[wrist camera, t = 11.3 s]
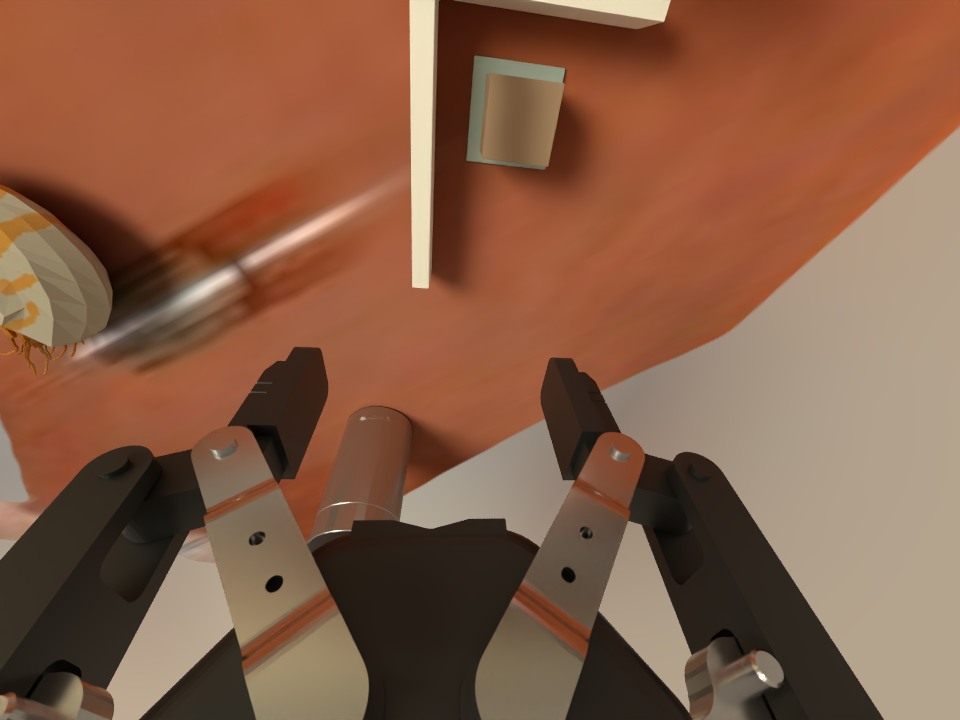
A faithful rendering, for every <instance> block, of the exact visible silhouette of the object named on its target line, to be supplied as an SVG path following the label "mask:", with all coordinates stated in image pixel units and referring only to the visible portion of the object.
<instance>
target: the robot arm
mask: <svg viewBox="0 0 960 720" xmlns="http://www.w3.org/2000/svg"><path fill="white" fill-rule="evenodd" d="M327 396H328V380H327V375H326V370H325V366H324V361H323V356H322V352H321V349H320V348H312V347H295V348H293V350H292V351H291V353H290V355H289V356H288V358H287V360H286V361H277V362H276V363H274V364H273V365H272V366H270V367H269V368H267V369H266V370H265V371H264V372H263V374H262V375H261V377H260V378H259V380H258V381H257V384H255V386H254V387H253V389H252V390H251V393H249V395H248V396H247V398H246V399H245V401H244V402H243V404H242V405H241V407H240V408H239V410H238V411H237V413H236V414H235V416H234V417H233V419H232V420H231V422H230V423H229V425H228V426H227V427H224V428H221V429H217V430H215V431H213V432H211V433H209V434H207V435H206V436H204V437H203V438H202V439H200V440H199V441H198V442H197V443H196V444H195V446H194V447H193V449H190V450H187V451H182V452H177V453H173V454H168V455H164V456H159V457H154V455H153V454H152V452H151V451H150V450H149V449H148V448H146V447H143V446H126V447H121V448H117V449H114V450H111V451H109V452H107V453H104V454H102V455H100V456H99V457H97V458H95V459H94V460H92V461H91V462H89V463H88V464H87V465H86V466H85V467H84V468H83V469H82V470H81V471H80V472H79V473H78V474H77V475H76V476H75V477H74V479H73V480H72V481H71V482H70V483H69V484H68V485H67V486H66V487H65V489H64V490H63V491H62V492H61V493H60V494H59V495H58V496H57V497H56V499H55V500H54V501H53V502H52V503H51V504H50V505H49V506H48V508H47V509H46V510H45V511H44V512H43V513H42V514H41V515H40V516H39V518H38V519H37V520H36V521H35V522H34V523H33V524H32V525H31V526H30V528H29V529H28V530H27V531H26V532H25V533H24V534H23V535H22V536H21V538H20V539H19V540H18V541H17V542H16V543H15V544H14V545H13V547H12V548H11V549H10V550H9V551H8V552H7V553H6V555H4V557H3V558H2V559H1V560H0V720H112V717H113V713H114V703H113V698H112V696H111V694H110V693H109V692H108V691H106V689H107V687H108V685H109V683H110V681H111V679H112V677H113V676H114V674H115V672H116V670H117V668H118V666H119V664H120V662H121V660H122V659H123V657H124V655H125V653H126V651H127V649H128V647H129V645H130V643H131V642H132V640H133V638H134V636H135V634H136V632H137V630H138V628H139V626H140V624H141V623H142V621H143V619H144V617H145V615H146V613H147V611H148V609H149V607H150V605H151V604H152V602H153V600H154V598H155V596H156V594H157V592H158V590H159V588H160V587H161V585H162V583H163V581H164V579H165V577H166V575H167V573H168V571H169V569H170V567H171V566H172V564H173V562H174V560H175V558H176V556H177V554H178V552H179V550H180V549H181V547H182V545H183V543H184V541H185V539H186V537H187V535H188V533H189V532H190V530H194V529H197V528H201V527H204V526H206V529H207V533H208V536H209V540H210V543H211V547H212V550H213V554H214V557H215V561H216V564H217V568H218V571H219V575H220V579H221V582H222V586H223V589H224V593H225V596H226V600H227V602H228V606H229V610H230V614H231V617H232V621H233V624H234V628H233V629H231V630H230V632H228V634H226V635H225V636H224V637H223V638H222V639H221V640H220V641H219V642H218V643H217V644H216V645H215V646H214V647H213V648H212V649H211V650H210V651H209V652H208V653H207V654H206V655H205V656H204V657H203V658H202V659H201V660H200V661H199V662H198V663H197V664H196V665H195V666H194V667H193V668H191V669H190V670H189V672H187V673H186V674H185V675H184V676H183V677H182V678H181V679H180V680H179V681H178V682H177V683H176V684H175V685H174V686H173V687H172V688H171V689H170V690H169V691H168V692H167V693H166V694H165V695H164V696H163V697H162V698H161V699H160V700H159V701H158V702H157V703H156V704H155V705H154V706H152V707H151V708H150V709H149V710H148V711H147V713H145V714H144V715H143V716H142V717H141V718H140V719H139V720H884V719H883V718H882V716H881V714H880V713H879V711H878V710H877V708H876V707H875V706H874V704H873V702H872V701H871V699H870V698H869V696H868V694H867V693H866V691H865V690H864V688H863V687H862V685H861V684H860V682H859V681H858V679H857V678H856V676H855V675H854V673H853V671H852V670H851V668H850V667H849V665H848V664H847V662H846V661H845V659H844V658H843V656H842V655H841V653H840V652H839V650H838V648H837V647H836V645H835V644H834V642H833V641H832V639H831V638H830V636H829V635H828V633H827V632H826V630H825V629H824V627H823V625H822V624H821V622H820V621H819V619H818V618H817V616H816V615H815V613H814V612H813V610H812V609H811V608H810V606H809V604H808V602H807V601H806V599H805V598H804V597H803V595H802V593H801V592H800V590H799V589H798V587H797V586H796V584H795V583H794V581H793V580H792V578H791V576H790V575H789V573H788V572H787V570H786V569H785V567H784V566H783V564H782V563H781V561H780V560H779V558H778V557H777V555H776V554H775V552H774V550H773V549H772V547H771V546H770V544H769V543H768V541H767V540H766V538H765V537H764V535H763V534H762V532H761V530H760V529H759V527H758V526H757V524H756V523H755V521H754V520H753V518H752V517H751V515H750V514H749V512H748V511H747V509H746V507H745V506H744V504H743V503H742V501H741V500H740V498H739V497H738V495H737V494H736V492H735V491H734V489H733V488H732V486H731V485H730V483H729V481H728V480H727V478H726V477H725V475H724V474H723V472H722V471H721V470H720V469H719V467H718V466H717V465H715V464H714V463H713V462H712V461H710V460H709V459H707V458H705V457H703V456H701V455H699V454H696V453H691V452H683V453H680V454H678V455H676V457H675V458H674V460H673V461H669V460H665V459H662V458H658V457H655V456H650V455H648V454H645V453H644V451H643V449H642V448H641V447H640V445H639V444H638V443H637V442H636V441H635V440H633V439H632V438H630V437H628V436H626V435H624V434H621V432H620V430H619V428H618V426H617V424H616V422H615V420H614V418H613V416H612V414H611V412H610V410H609V408H608V406H607V404H606V403H605V400H604V398H603V396H602V395H601V392H600V390H599V388H598V386H597V384H596V382H595V381H594V380H593V379H592V378H591V377H590V376H589V375H588V374H586V373H585V372H578V369H577V367H576V365H575V363H574V361H573V359H571V358H550V360H549V362H548V366H547V370H546V374H545V378H544V381H543V385H542V389H541V406H542V409H543V413H544V416H545V420H546V423H547V427H548V430H549V433H550V437H551V440H552V444H553V447H554V451H555V454H556V457H557V461H558V464H559V468H560V471H561V475H562V478H563V480H575V482H574V484H573V485H572V487H571V489H570V491H569V493H568V495H567V497H566V499H565V501H564V503H563V504H562V506H561V508H560V510H559V512H558V514H557V516H556V518H555V520H554V522H553V524H552V526H551V527H550V529H549V531H548V533H547V535H546V537H545V539H544V541H543V543H542V545H541V547H539V546H538V545H536V544H535V543H533V542H532V541H530V540H529V539H527V538H525V537H523V536H522V535H519V534H517V533H514V532H511V531H508V530H507V529H506V521H505V519H467V520H464V521H460V522H456V523H452V524H449V525H445V526H441V527H438V528H434V529H427V528H423V527H419V526H415V525H410V524H407V523H402V522H400V514H401V508H402V501H403V494H404V487H405V480H406V473H407V466H408V459H409V453H410V446H411V439H412V426H411V423H410V422H409V420H408V419H407V418H406V417H405V416H404V415H402V414H401V413H399V412H397V411H395V410H393V409H389V408H385V407H368V408H363V409H361V410H358V411H357V412H355V413H354V414H353V415H352V416H351V417H350V418H349V420H348V423H347V426H346V429H345V432H344V435H343V438H342V441H341V443H340V446H339V450H338V453H337V456H336V459H335V462H334V465H333V468H332V471H331V474H330V477H329V480H328V483H327V486H326V489H325V492H324V495H323V498H322V501H321V504H320V507H319V510H318V513H317V516H316V520H315V523H314V526H313V529H312V532H311V535H310V538H309V541H308V544H306V542H305V540H304V537H303V535H302V533H301V531H300V529H299V527H298V525H297V523H296V521H295V519H294V517H293V514H292V512H291V510H290V508H289V506H288V504H287V502H286V500H285V498H284V496H283V494H282V491H281V489H280V487H279V482H280V480H281V479H295V477H296V474H297V472H298V470H299V467H300V465H301V462H302V460H303V457H304V455H305V452H306V450H307V447H308V445H309V442H310V440H311V437H312V435H313V432H314V430H315V427H316V425H317V422H318V420H319V417H320V415H321V412H322V410H323V407H324V405H325V402H326V400H327ZM628 521H631V522H634V523H638V524H641V525H642V527H643V529H644V532H645V534H646V537H647V540H648V542H649V545H650V547H651V550H652V552H653V555H654V558H655V560H656V563H657V566H658V568H659V571H660V573H661V576H662V578H663V581H664V584H665V586H666V589H667V592H668V594H669V597H670V599H671V602H672V605H673V607H674V610H675V612H676V615H677V617H678V620H679V623H680V625H681V628H682V631H683V633H684V636H685V638H686V641H687V644H688V646H689V649H690V651H691V654H692V656H691V657H690V658H689V659H688V661H687V663H686V666H685V682H686V686H687V690H688V697H689V701H690V713H689V712H688V711H687V710H686V708H685V707H684V706H683V704H682V703H681V702H680V700H679V699H678V698H677V697H676V696H675V695H674V694H673V692H672V691H671V690H670V689H669V688H668V687H667V686H666V685H665V684H664V682H662V680H661V679H660V678H659V677H658V676H657V675H656V674H655V673H654V671H653V670H652V669H651V668H650V667H649V666H648V665H647V664H646V663H645V662H644V660H643V659H642V658H641V657H640V656H639V655H638V654H637V653H636V652H635V651H634V649H633V648H632V647H631V646H630V645H629V644H628V643H627V642H626V641H625V640H624V638H623V637H622V636H621V635H620V634H619V633H618V632H617V631H616V630H615V628H614V627H613V626H612V625H611V624H610V623H609V622H608V621H607V620H606V619H605V617H604V616H603V615H602V614H601V613H600V612H599V611H598V610H599V607H600V604H601V601H602V598H603V595H604V591H605V589H606V586H607V583H608V580H609V577H610V573H611V571H612V568H613V565H614V561H615V558H616V555H617V552H618V550H619V547H620V543H621V540H622V538H623V534H624V531H625V528H626V526H627V523H628Z"/></svg>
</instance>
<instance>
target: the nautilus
mask: <svg viewBox="0 0 960 720" xmlns="http://www.w3.org/2000/svg"><path fill="white" fill-rule="evenodd" d="M112 296H113V290H112V287H111V284H110V281H109V278H108V274H107V271H106V269H105V267H104V266H103V265H102V263H101V262H100V261H99V259H98V258H97V257H96V256H95V254H94V253H93V252H92V250H91V249H90V248H89V247H88V246H87V245H86V244H85V243H84V242H82V241H81V240H80V239H79V238H78V237H77V236H76V235H75V234H74V233H73V232H71V231H70V230H69V229H68V228H67V227H66V226H65V225H64V224H63V223H61V222H60V221H59V220H58V219H57V218H56V217H55V216H54V215H53V214H52V213H50V212H49V211H47V210H45V209H44V208H42V207H41V206H39V205H37V204H36V203H34V202H33V201H31V200H29V199H27V198H26V197H24V196H22V195H21V194H19V193H17V192H16V191H14V190H12V189H10V188H8V187H6V186H3V185H1V184H0V329H1V330H2V331H3V332H4V333H5V335H6V336H7V337H8V338H9V340H10V342H11V344H12V345H13V346H14V348H15V350H13V351H11V352H9V353H1V354H2V355H10V354H12V353H14V352H17V351H18V346H17V345H16V343H15V341H14V338H15V337H17V335H18V336H19V337H20V341H21V345H20V351H19V354H17V355H20V354H21V353H22V352H23V346H24V353H23V357H24V358H25V359H26V360H27V363H28V368H29V367H30V366H29V364H30V365H31V366H32V369H33V372H34V376H36V371H35V367H34V364H32V363H31V362H30V360H29V351H30V348H31V346H33V347H35V348H36V347H39V350H40V351H41V352H42V353H43V354H45V357H46V360H45V370H44V373H43V374H46V372H47V370H48V361H49V357H50V360H56V359H58V358H60V357H61V356H62V355H63V354H64V353H65V351H66V349H67V345H66V344H72V343H74V344H73V353H72V355H71V356H70V357H68V358H71V357H72V356H73V355H74V354H75V351H76V344H77V342H80V341H81V342H82V343H83V344H84V342H83V340H84V339H87V338H89V337H91V336H93V335H94V334H96V333H98V332H99V331H101V330H102V329H104V328H105V327H106V325H107V322H108V319H109V316H110V313H111V310H112ZM16 334H17V335H16ZM26 345H27V347H26ZM43 345H45V350H46V352H47V353H48V354H47V353H46V352H45V351H44V349H43V348H42V346H43ZM61 345H63V346H64V349H63V351H62V352H61V354H60V355H59V356H58V357H57V358H55V359H51V356H50V354H51V353H52V352H53V351H54V349H55V347H56V346H61ZM47 346H50V347H52V349H51V351H50V352H48V351H47ZM48 355H49V357H48Z"/></svg>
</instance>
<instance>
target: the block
mask: <svg viewBox="0 0 960 720" xmlns="http://www.w3.org/2000/svg"><path fill="white" fill-rule="evenodd" d="M564 85H565V83H558V82H551V81H544V80H537V79H530V78H523V77H516V76H509V75H501V74H494V73H488V74H487V76H486V87H485V98H484V108H483V119H482V129H481V140H480V152H481V156H482V159H487V160H495V161H504V162H512V163H521V164H529V165H538V166H546V167H548V164H549V159H550V154H551V149H552V144H553V140H554V135H555V130H556V125H557V120H558V115H559V110H560V105H561V100H562V95H563V90H564Z"/></svg>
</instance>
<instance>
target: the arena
mask: <svg viewBox="0 0 960 720" xmlns="http://www.w3.org/2000/svg"><path fill="white" fill-rule="evenodd" d="M439 1H441V0H410V82H411V192H412V287H417V288H429V282H430V276H431V270H432V238H433V200H434V163H435V125H436V87H437V49H438V11H439ZM454 1H460V2H467V3H473V4H479V5H485V6H492V7H498V8H504V9H511V10H517V11H523V12H530V13H536V14H542V15H549V16H555V17H561V18H568V19H574V20H580V21H587V22H593V23H599V24H606V25H612V26H618V27H624V28H631V29H640V28H644V27H647V26H651V25H654V24H658V23H662V22H664V20H665V17H666V14H667V11H668V7H669V4H670V1H671V0H454ZM488 73H494V74H501V75H509V76H516V77H523V78H530V79H537V80H544V81H551V82H558V83H563V78H564V73H565V68H560V67H553V66H546V65H539V64H532V63H525V62H518V61H511V60H504V59H497V58H490V57H483V56H476V55H474V66H473V79H472V93H471V106H470V119H469V133H468V146H467V159H466V161H473V162H482V163H490V164H499V165H508V166H516V167H525V168H534V169H543V170H545V169H546V166H538V165H529V164H521V163H512V162H504V161H495V160H487V159H482V156H481V152H480V140H481V129H482V119H483V108H484V98H485V87H486V76H487V74H488Z"/></svg>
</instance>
